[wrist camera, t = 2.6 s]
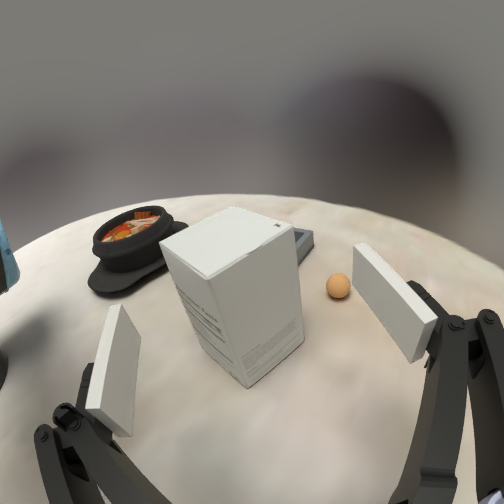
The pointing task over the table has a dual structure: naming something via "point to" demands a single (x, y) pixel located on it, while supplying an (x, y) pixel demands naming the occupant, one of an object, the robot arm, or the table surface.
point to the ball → (338, 285)
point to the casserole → (130, 247)
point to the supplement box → (239, 289)
